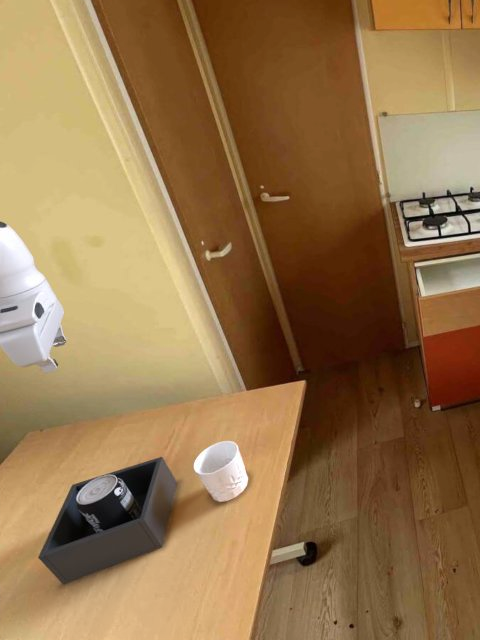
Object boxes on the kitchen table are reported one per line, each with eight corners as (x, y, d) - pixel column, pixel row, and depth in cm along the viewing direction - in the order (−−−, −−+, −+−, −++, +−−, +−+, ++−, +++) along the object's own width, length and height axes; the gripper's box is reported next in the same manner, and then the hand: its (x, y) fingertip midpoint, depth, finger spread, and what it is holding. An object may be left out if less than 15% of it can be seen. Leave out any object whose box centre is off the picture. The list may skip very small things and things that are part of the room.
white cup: (238, 464, 97) (225, 435, 92) (258, 481, 93) (245, 451, 88) (202, 493, 91) (185, 462, 86) (221, 512, 87) (205, 481, 82)
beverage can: (93, 539, 82) (63, 501, 76) (128, 506, 87) (102, 469, 82) (119, 547, 80) (90, 510, 75) (153, 514, 86) (128, 476, 80)
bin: (63, 584, 75) (37, 557, 71) (92, 511, 87) (71, 484, 83) (162, 546, 81) (144, 519, 77) (177, 482, 93) (162, 456, 89)
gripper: (11, 281, 86) (46, 336, 92) (-21, 332, 71) (22, 393, 77) (54, 273, 89) (84, 325, 95) (31, 319, 74) (69, 378, 81)
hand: (56, 356), depth 86 cm, fingers open, 8 cm apart
